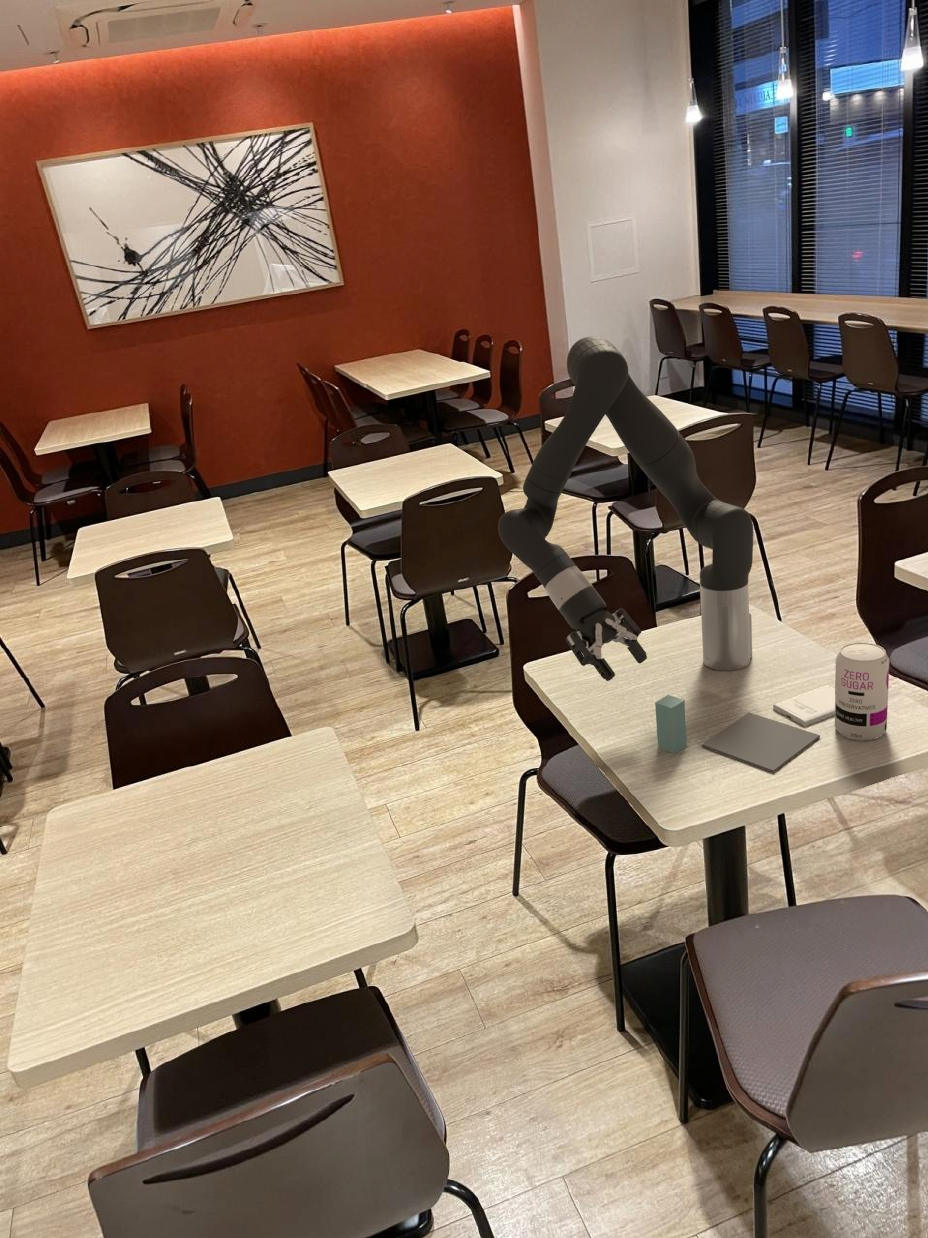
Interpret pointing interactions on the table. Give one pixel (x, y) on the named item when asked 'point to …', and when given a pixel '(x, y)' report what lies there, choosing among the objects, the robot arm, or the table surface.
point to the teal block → (671, 724)
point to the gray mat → (761, 742)
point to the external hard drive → (809, 706)
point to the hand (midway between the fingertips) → (627, 669)
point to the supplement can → (861, 691)
